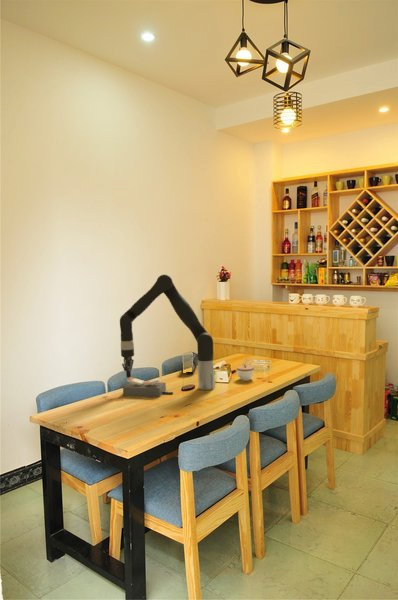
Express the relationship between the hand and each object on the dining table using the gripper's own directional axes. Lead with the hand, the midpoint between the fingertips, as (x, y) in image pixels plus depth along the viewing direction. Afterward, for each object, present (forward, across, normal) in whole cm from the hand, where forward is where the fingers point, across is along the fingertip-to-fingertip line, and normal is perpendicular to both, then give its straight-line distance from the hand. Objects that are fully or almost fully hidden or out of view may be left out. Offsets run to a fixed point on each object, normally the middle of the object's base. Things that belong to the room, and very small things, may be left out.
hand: (128, 377), depth 266 cm
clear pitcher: (+10, +59, -24) cm, 64 cm away
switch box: (+9, 0, -13) cm, 16 cm away
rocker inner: (+3, 0, -15) cm, 15 cm away
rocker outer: (+3, 0, -4) cm, 5 cm away
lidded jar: (+10, +36, -65) cm, 75 cm away
